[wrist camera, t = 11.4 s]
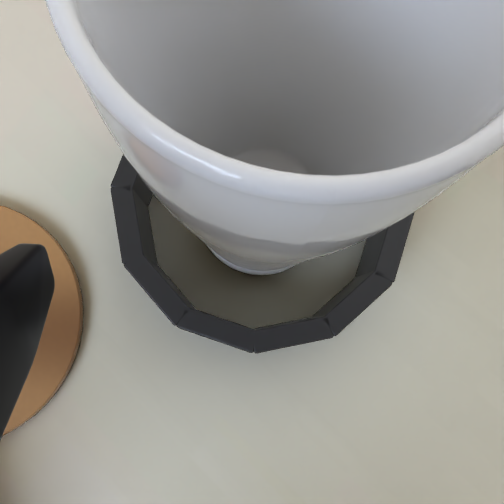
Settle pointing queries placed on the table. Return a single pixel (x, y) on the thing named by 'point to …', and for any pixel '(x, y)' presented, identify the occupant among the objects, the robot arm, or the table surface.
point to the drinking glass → (292, 111)
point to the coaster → (57, 321)
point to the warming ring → (251, 340)
